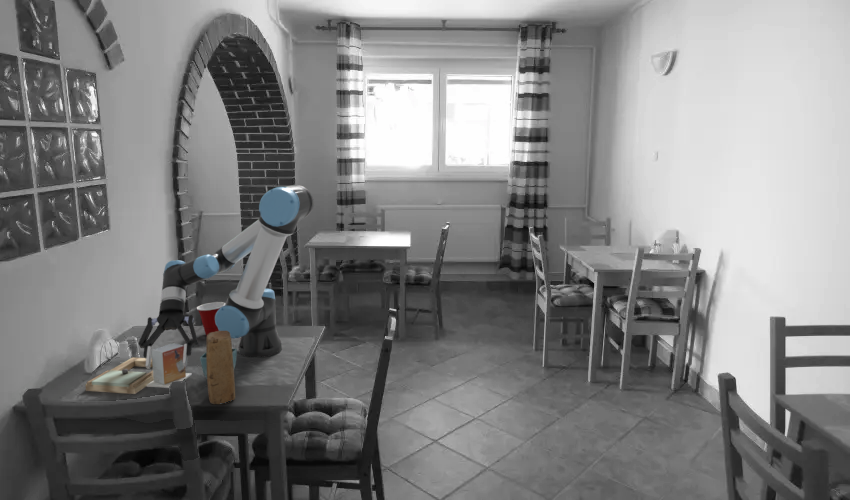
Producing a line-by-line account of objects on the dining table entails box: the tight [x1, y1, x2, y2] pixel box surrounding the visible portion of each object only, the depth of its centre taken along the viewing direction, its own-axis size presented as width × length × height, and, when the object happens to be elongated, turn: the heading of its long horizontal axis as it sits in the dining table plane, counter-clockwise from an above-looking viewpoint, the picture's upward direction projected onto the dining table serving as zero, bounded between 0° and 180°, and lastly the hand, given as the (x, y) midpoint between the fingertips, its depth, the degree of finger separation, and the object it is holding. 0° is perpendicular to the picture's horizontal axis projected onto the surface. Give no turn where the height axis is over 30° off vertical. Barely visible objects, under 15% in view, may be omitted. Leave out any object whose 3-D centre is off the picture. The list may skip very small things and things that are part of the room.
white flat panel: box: [145, 372, 193, 389], centre depth 184 cm, size 9×11×1 cm
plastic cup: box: [196, 301, 226, 337], centre depth 228 cm, size 11×11×12 cm
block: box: [205, 331, 236, 405], centre depth 170 cm, size 11×8×20 cm
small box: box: [151, 342, 187, 384], centre depth 183 cm, size 8×6×10 cm
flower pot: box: [199, 348, 238, 379], centre depth 184 cm, size 9×9×9 cm
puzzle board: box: [85, 357, 153, 395], centre depth 186 cm, size 16×23×4 cm
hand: (166, 366), depth 180 cm, fingers open, 10 cm apart
